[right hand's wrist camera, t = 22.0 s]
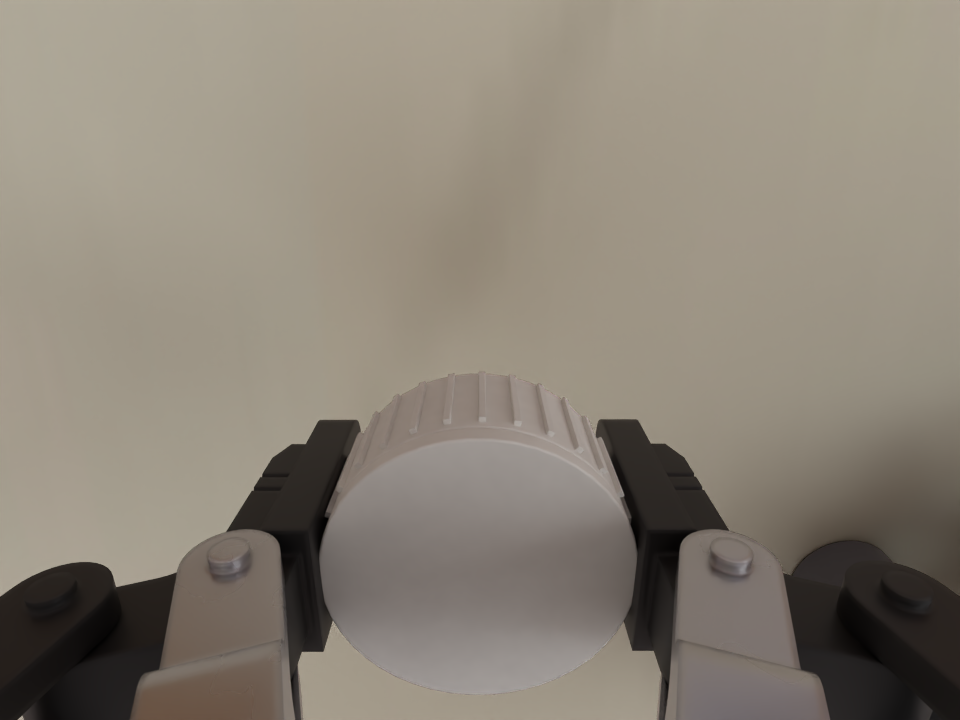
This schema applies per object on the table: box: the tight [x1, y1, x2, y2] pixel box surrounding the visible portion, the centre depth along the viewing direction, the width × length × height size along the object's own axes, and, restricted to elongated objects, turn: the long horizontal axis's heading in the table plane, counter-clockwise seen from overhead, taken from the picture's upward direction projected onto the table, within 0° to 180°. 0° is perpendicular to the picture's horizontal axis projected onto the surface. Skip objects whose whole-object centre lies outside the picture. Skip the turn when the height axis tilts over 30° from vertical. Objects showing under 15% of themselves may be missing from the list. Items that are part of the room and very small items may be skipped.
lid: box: [319, 372, 638, 695], centre depth 10 cm, size 5×5×2 cm
